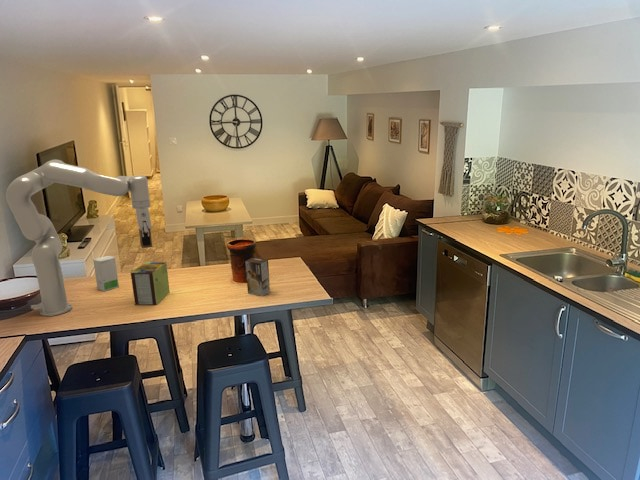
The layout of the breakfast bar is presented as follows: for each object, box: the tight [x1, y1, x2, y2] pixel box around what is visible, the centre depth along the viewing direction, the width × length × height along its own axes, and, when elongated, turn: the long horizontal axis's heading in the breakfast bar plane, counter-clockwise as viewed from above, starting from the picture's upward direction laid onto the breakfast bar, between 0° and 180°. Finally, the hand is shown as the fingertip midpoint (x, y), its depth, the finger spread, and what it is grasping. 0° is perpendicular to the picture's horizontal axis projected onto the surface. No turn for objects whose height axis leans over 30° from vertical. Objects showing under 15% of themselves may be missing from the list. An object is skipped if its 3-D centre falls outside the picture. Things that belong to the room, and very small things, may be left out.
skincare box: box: [93, 255, 120, 292], centre depth 234 cm, size 8×7×16 cm
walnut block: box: [138, 228, 153, 249], centre depth 214 cm, size 4×4×8 cm
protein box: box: [130, 261, 171, 306], centre depth 220 cm, size 10×15×16 cm
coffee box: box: [245, 257, 271, 297], centre depth 224 cm, size 9×6×16 cm
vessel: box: [226, 238, 257, 285], centre depth 241 cm, size 14×14×20 cm
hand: (146, 243), depth 215 cm, fingers closed on walnut block, 4 cm apart
